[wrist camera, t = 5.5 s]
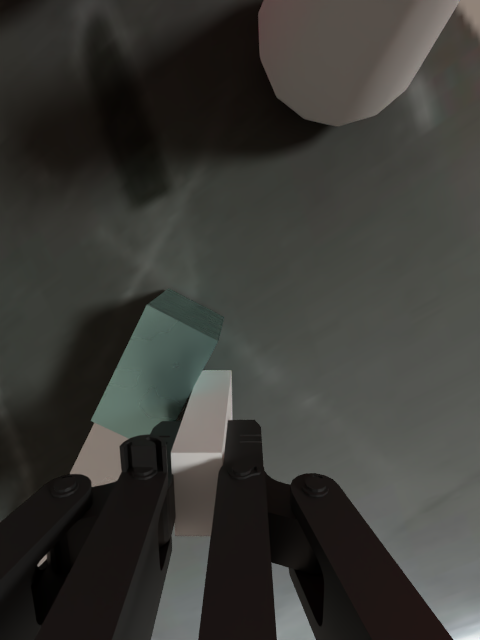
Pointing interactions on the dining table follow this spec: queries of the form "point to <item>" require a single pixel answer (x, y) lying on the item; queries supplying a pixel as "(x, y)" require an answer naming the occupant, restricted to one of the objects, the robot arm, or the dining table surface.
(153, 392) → the tongs jaw
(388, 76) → the salt shaker
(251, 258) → the dining table surface
